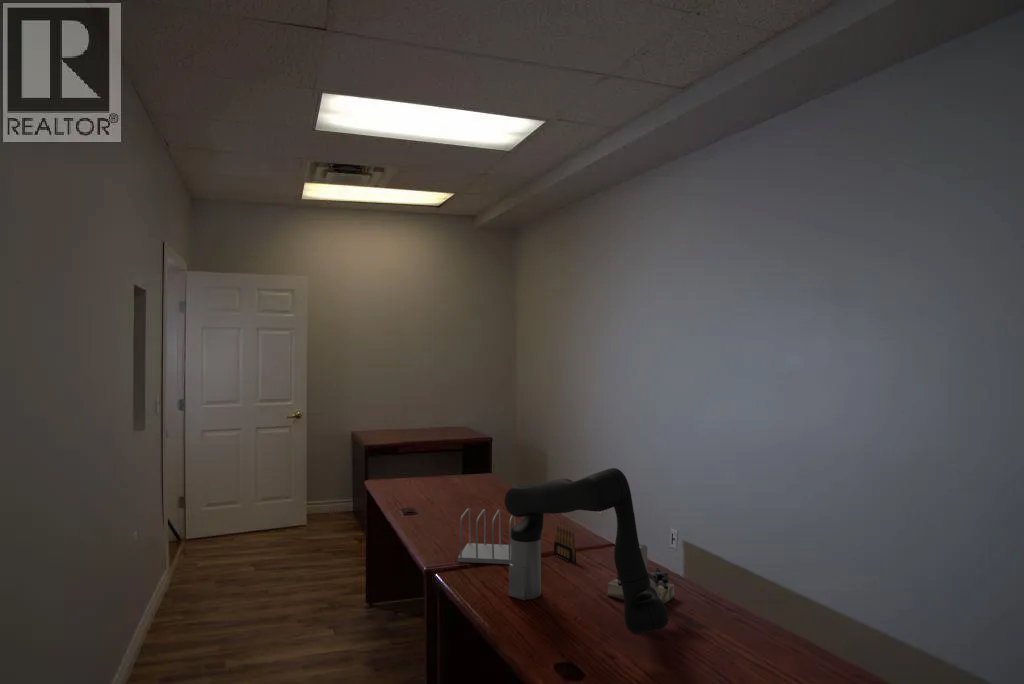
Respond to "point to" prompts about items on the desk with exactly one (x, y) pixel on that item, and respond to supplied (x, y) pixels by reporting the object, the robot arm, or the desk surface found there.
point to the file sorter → (486, 545)
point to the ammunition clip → (565, 543)
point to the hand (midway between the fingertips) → (641, 570)
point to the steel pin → (644, 553)
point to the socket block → (617, 593)
